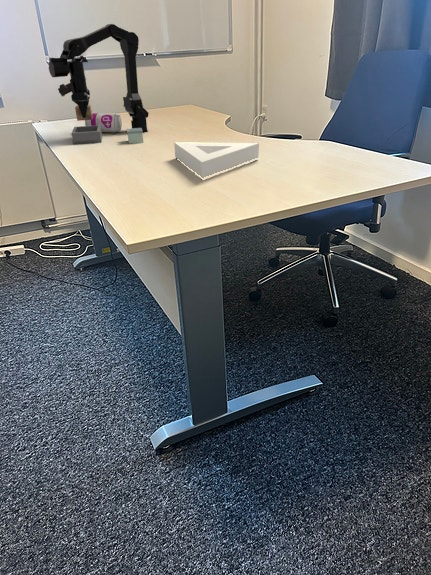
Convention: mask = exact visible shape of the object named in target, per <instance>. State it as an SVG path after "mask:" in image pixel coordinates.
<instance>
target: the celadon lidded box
mask: <svg viewBox="0 0 431 575" xmlns="http://www.w3.org/2000/svg"><path fill="white" fill-rule="evenodd" d="M126 133H127V138H128V144H129V145H130V144H132V145H133V144H143V143H144V136H143V135H144V134H143V133H144V132H143V131H142V128H132V127H131V128H126Z"/></svg>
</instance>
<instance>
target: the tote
mask: <svg viewBox="0 0 431 575" xmlns="http://www.w3.org/2000/svg"><path fill="white" fill-rule="evenodd" d="M71 138H72V143H73V145H84V144H85V145H87V144H100V143H102V140H103V132H102V130H101V125H95V126H85V125H84V126H74V127H73V129H72V131H71Z"/></svg>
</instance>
